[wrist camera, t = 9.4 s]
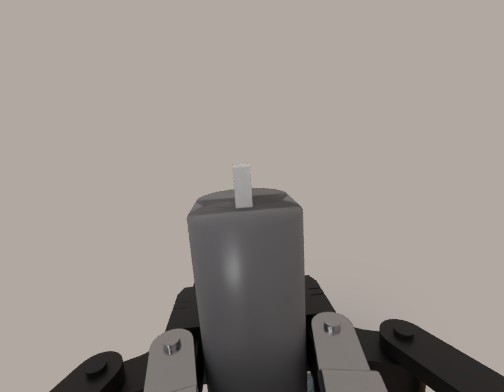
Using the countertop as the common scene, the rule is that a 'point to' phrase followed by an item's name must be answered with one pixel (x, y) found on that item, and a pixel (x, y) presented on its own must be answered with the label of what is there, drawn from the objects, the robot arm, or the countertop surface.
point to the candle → (250, 287)
